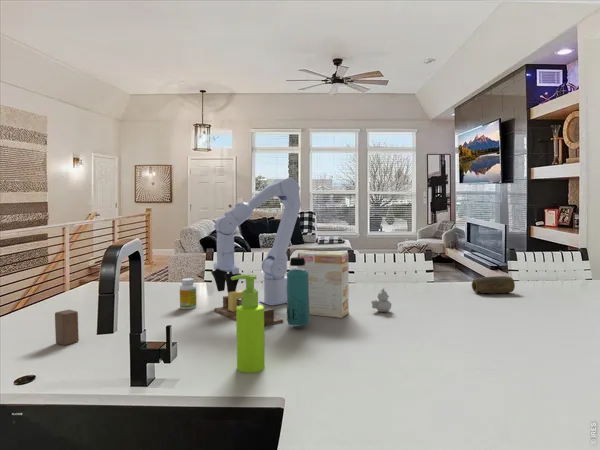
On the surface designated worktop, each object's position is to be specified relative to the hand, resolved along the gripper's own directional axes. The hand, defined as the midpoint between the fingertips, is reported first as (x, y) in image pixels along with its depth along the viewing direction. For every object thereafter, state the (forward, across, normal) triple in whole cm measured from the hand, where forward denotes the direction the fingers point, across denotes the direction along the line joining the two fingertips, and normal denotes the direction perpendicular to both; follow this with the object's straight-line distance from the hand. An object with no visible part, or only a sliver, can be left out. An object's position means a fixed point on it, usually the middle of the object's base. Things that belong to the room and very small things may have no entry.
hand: (226, 292), depth 146 cm
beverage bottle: (+5, +34, +5) cm, 34 cm away
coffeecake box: (+5, +26, +21) cm, 34 cm away
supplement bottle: (+5, -8, -10) cm, 14 cm away
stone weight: (+6, +43, +92) cm, 101 cm away
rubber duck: (+5, +36, +37) cm, 52 cm away
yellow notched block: (+4, +9, 0) cm, 10 cm away
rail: (+5, +14, 0) cm, 15 cm away
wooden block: (+5, +8, -49) cm, 50 cm away
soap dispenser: (+5, +51, -21) cm, 55 cm away
